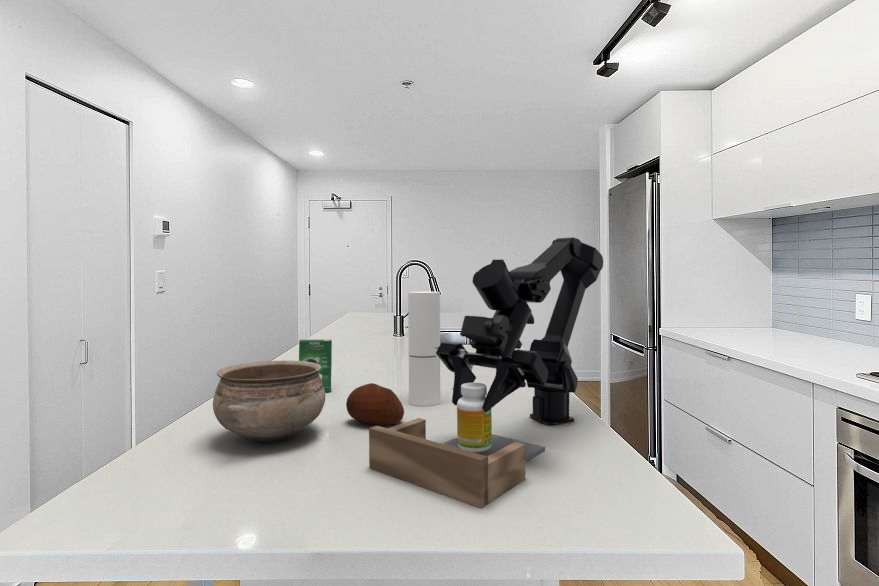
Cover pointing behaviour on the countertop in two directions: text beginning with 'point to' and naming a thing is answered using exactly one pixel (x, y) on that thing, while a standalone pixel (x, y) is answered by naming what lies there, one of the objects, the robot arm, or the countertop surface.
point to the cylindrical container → (424, 348)
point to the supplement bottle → (473, 419)
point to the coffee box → (318, 357)
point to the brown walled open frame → (445, 463)
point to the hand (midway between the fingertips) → (468, 407)
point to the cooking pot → (268, 399)
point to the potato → (374, 405)
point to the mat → (502, 442)
